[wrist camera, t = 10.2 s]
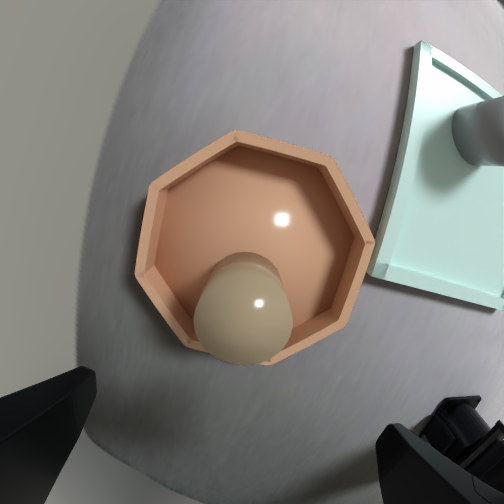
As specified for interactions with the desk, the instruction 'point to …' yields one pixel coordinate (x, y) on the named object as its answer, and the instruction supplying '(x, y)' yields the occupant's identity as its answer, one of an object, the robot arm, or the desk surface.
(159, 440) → the desk surface
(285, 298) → the river pebble
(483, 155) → the grey rounded lump
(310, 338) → the dish
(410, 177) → the parts tray
